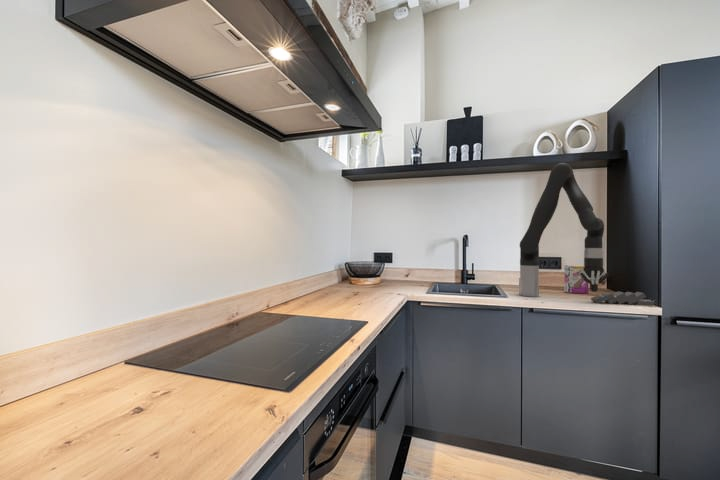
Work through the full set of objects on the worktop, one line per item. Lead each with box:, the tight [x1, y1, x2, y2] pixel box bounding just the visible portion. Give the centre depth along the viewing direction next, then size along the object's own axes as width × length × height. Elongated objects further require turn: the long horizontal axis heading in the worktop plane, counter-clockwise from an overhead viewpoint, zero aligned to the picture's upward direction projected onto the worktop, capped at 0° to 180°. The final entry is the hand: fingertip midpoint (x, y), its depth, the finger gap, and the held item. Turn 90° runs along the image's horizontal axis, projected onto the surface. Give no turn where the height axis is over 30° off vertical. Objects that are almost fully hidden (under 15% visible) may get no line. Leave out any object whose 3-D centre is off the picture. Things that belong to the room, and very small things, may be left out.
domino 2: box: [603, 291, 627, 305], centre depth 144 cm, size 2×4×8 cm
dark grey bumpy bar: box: [614, 291, 636, 305], centre depth 143 cm, size 2×4×8 cm
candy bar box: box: [563, 264, 589, 295], centre depth 174 cm, size 11×5×16 cm, turn 84°
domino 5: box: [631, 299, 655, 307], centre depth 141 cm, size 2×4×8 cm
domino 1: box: [590, 291, 614, 304], centre depth 145 cm, size 2×4×8 cm
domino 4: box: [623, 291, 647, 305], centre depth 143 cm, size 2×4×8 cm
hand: (593, 291), depth 146 cm, fingers closed
